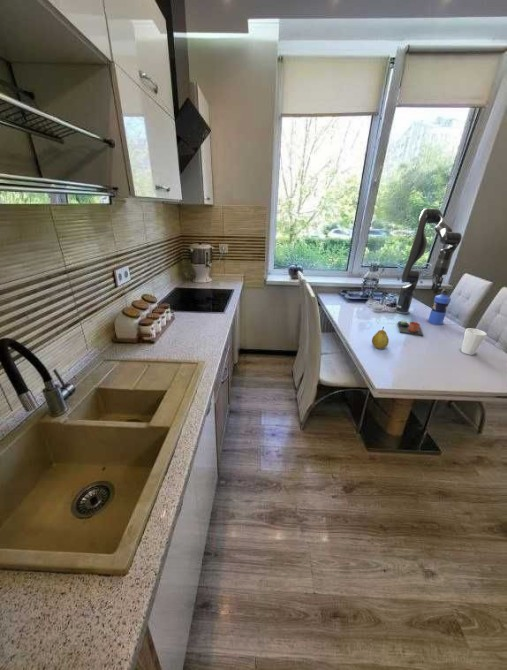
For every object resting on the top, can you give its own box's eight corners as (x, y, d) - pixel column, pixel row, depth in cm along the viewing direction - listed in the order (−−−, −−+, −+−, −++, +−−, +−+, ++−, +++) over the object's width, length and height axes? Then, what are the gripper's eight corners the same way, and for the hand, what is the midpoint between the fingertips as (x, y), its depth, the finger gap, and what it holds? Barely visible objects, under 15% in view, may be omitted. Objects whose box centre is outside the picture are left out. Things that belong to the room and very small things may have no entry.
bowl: (407, 328, 187) (409, 321, 185) (417, 329, 185) (419, 322, 183) (408, 331, 182) (410, 324, 180) (418, 332, 180) (420, 325, 178)
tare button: (400, 322, 193) (400, 320, 193) (405, 323, 192) (406, 321, 191) (400, 324, 190) (401, 321, 189) (406, 324, 189) (407, 322, 188)
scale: (397, 323, 196) (397, 320, 195) (418, 327, 191) (419, 323, 190) (398, 332, 182) (399, 328, 181) (422, 336, 178) (423, 332, 176)
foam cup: (474, 350, 161) (482, 329, 156) (480, 357, 153) (489, 336, 148) (455, 347, 164) (463, 327, 159) (460, 354, 156) (469, 333, 151)
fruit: (380, 351, 156) (385, 332, 151) (367, 345, 163) (371, 326, 158) (390, 348, 160) (395, 329, 155) (377, 342, 167) (382, 324, 162)
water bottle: (428, 323, 198) (439, 289, 188) (426, 319, 206) (437, 286, 196) (443, 325, 195) (455, 291, 185) (441, 321, 203) (452, 288, 192)
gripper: (451, 269, 164) (442, 295, 171) (446, 264, 176) (438, 289, 183) (437, 267, 166) (429, 293, 173) (433, 263, 178) (425, 288, 185)
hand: (434, 291), depth 178 cm, fingers open, 8 cm apart
